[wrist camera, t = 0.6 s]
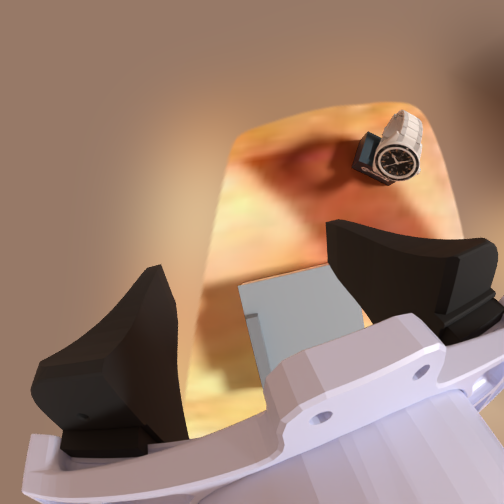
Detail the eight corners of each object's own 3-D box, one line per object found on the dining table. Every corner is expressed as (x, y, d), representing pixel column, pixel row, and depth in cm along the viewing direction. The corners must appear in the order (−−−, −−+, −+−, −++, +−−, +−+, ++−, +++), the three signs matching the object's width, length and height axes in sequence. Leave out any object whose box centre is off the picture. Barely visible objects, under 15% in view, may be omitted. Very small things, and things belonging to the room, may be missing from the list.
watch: (346, 181, 35) (379, 154, 24) (363, 129, 34) (395, 90, 24) (384, 199, 34) (427, 181, 23) (399, 147, 34) (439, 116, 23)
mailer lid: (369, 377, 30) (375, 385, 28) (267, 403, 31) (267, 413, 28) (350, 258, 30) (357, 259, 28) (238, 285, 31) (236, 288, 28)
